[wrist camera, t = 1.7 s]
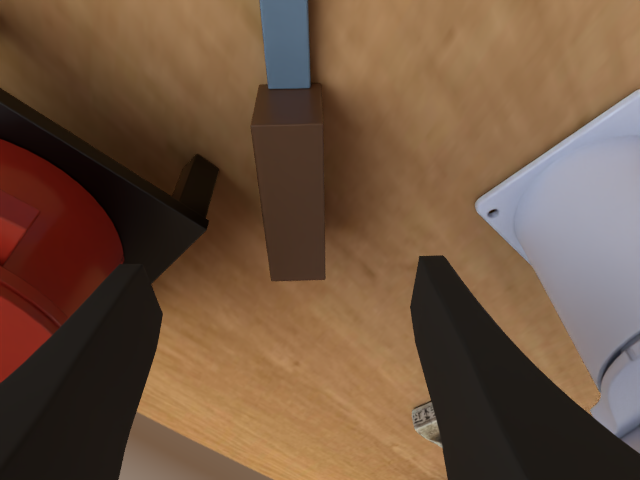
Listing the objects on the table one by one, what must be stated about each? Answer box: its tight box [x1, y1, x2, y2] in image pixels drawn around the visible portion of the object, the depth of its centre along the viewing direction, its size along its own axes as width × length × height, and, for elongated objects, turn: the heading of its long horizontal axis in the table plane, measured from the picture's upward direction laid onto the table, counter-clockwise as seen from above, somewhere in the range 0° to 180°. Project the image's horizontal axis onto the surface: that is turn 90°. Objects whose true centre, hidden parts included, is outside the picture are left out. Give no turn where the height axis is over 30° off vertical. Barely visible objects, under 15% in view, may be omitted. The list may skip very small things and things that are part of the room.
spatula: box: [251, 0, 325, 281], centre depth 15 cm, size 16×5×3 cm, turn 1°
